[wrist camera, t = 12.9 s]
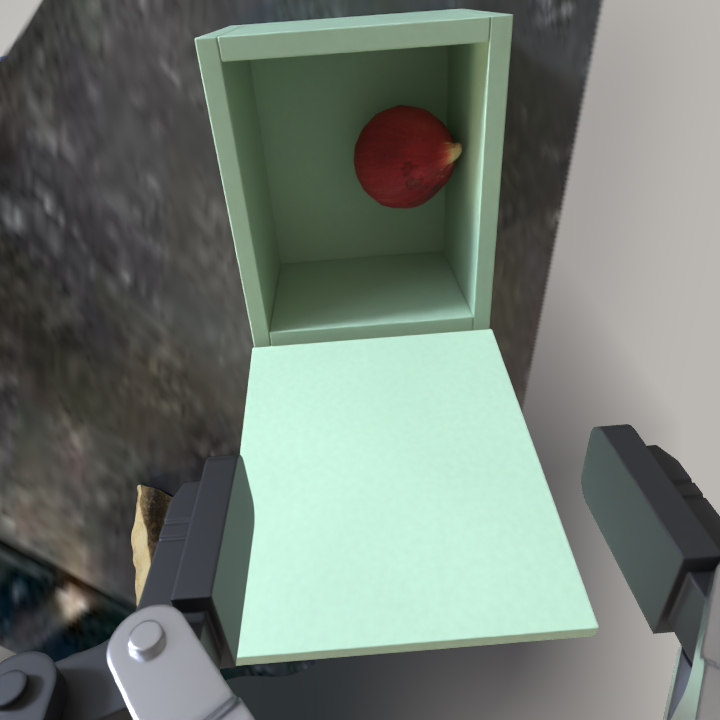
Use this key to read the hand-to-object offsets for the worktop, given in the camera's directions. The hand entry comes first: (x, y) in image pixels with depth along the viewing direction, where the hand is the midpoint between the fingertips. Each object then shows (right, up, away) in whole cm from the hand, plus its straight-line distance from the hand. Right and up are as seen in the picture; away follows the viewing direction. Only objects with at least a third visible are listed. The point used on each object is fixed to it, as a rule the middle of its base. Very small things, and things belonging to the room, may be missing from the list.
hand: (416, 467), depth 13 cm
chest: (-2, +16, +25) cm, 30 cm away
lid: (0, -2, +13) cm, 14 cm away
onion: (-1, +16, +24) cm, 28 cm away
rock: (-22, -14, +44) cm, 51 cm away
